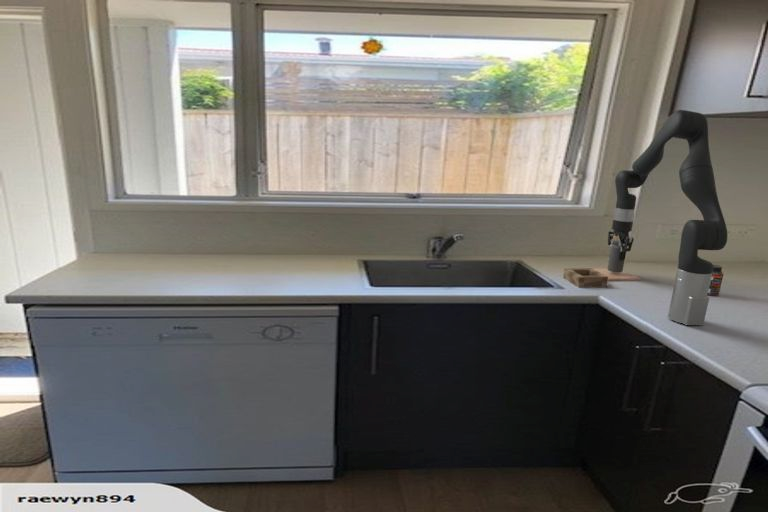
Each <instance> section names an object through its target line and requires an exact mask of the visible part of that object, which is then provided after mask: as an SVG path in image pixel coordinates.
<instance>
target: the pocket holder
mask: <svg viewBox="0 0 768 512" xmlns="http://www.w3.org/2000/svg"><path fill="white" fill-rule="evenodd" d="M594 269H595V268H591V267H590V268H587V267H585V268H581V267H580V268H564V270H563V279H565V280H566V279H567V280H566V281H568V282H569V281H570V283H571V284H572V283H573V284H572V285H574V286H575V287H577V286H578V287H577V288H598V287H599V288H602V287H603V288H605V287H606V288H607V285H608V282H609V281H608V277H607V276H605V275H603V274H601V273H600V272H598V271H596V270H594Z"/></svg>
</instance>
